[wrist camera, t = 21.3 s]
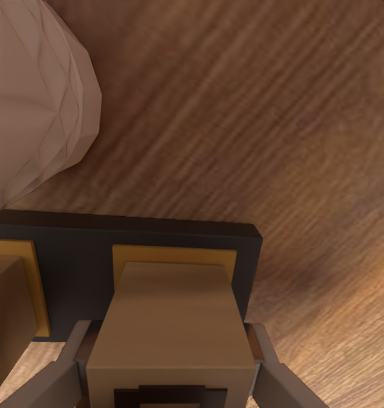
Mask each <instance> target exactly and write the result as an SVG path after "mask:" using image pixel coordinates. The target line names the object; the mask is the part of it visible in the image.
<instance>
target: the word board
mask: <svg viewBox="0 0 384 408" xmlns="http://www.w3.org/2000/svg"><path fill="white" fill-rule="evenodd" d="M262 241H263V237H262V236H261V234H260V233H259V232H258V230H257V229H256V227H255V226H254V225H253V224H238V223H221V222H203V221H186V220H169V219H151V218H134V217H117V216H99V215H82V214H65V213H48V212H30V211H13V210H2V211H0V255H3V256H21V257H22V261H23V265H24V270H25V274H26V278H27V283H28V287H29V292H30V296H31V301H32V305H33V310H34V314H35V318H36V323H37V327H38V332H37V334H36V335H35V336H34V338H33V339H32V341H31V342H66V341H67V340H68V338H69V336H70V334H71V332H72V330H73V328H74V326H75V324H76V323H77V322H78V321H79V320H80V319H86V320H104V319H105V316H106V313H107V311H108V308H109V306H110V303H111V301H112V298H113V296H114V293H115V290H116V288H117V285H118V283H119V280H120V278H121V275H122V272H123V270H124V267H125V265H126V262H148V263H173V264H197V265H221V266H225V268H226V271H227V274H228V278H229V281H230V284H231V287H232V291H233V294H234V297H235V300H236V303H237V307H238V310H239V313H240V316H241V320H242V323H244V320H245V316H246V311H247V307H248V302H249V298H250V294H251V289H252V285H253V281H254V276H255V272H256V267H257V263H258V259H259V254H260V250H261V246H262Z"/></svg>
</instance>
